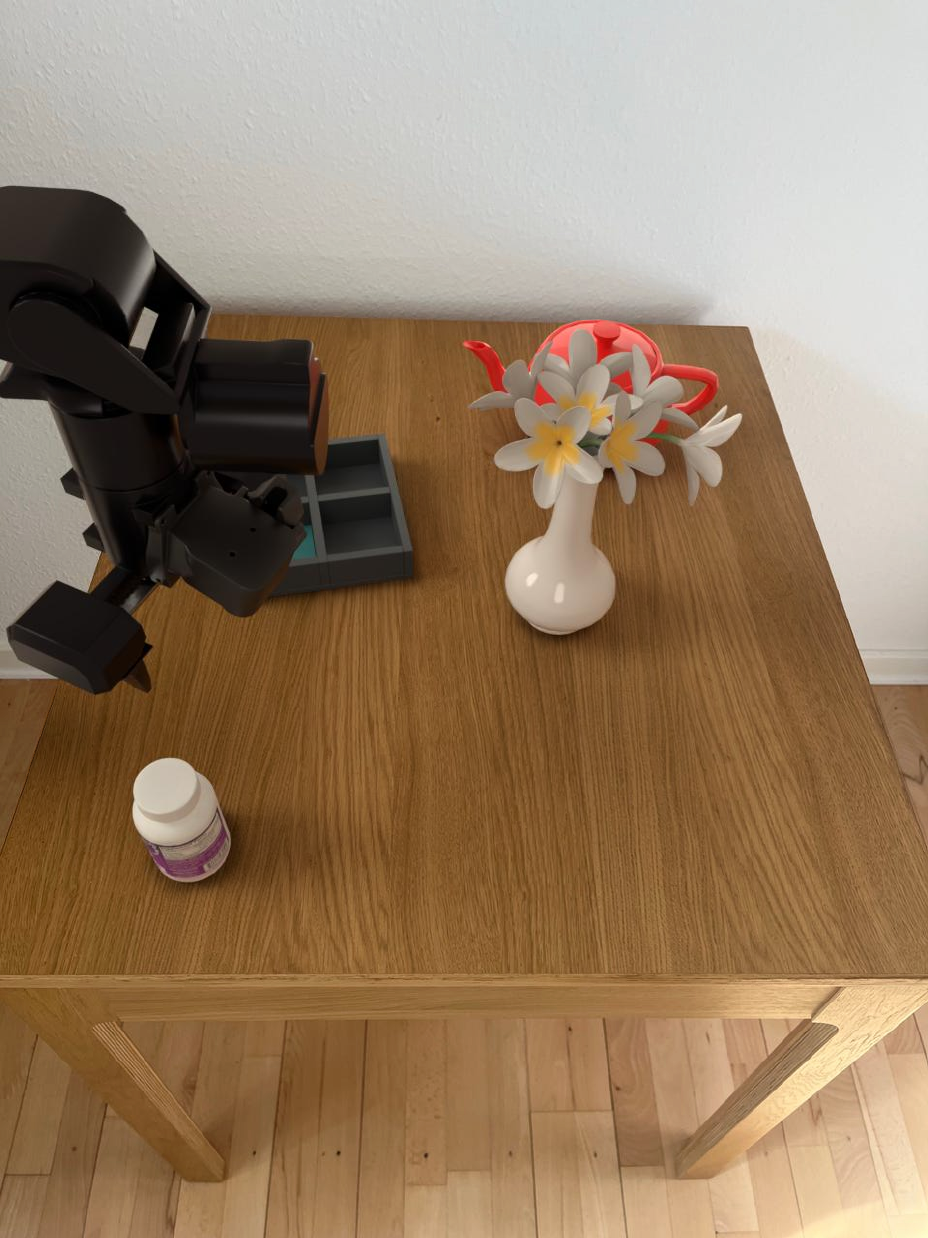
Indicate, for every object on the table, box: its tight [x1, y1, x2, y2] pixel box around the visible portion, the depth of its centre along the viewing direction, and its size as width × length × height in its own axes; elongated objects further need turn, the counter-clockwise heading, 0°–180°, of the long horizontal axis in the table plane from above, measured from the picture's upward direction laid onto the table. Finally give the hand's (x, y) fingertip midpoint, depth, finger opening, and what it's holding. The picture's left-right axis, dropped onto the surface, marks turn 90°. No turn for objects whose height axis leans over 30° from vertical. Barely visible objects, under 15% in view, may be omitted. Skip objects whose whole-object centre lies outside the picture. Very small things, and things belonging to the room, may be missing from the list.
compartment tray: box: [267, 433, 414, 598], centre depth 85 cm, size 15×15×4 cm
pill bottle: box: [132, 757, 232, 883], centre depth 63 cm, size 5×5×10 cm
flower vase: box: [467, 329, 743, 636], centre depth 72 cm, size 13×18×25 cm
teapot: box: [461, 319, 720, 448], centre depth 92 cm, size 25×16×12 cm, turn 86°
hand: (187, 635), depth 61 cm, fingers open, 9 cm apart
